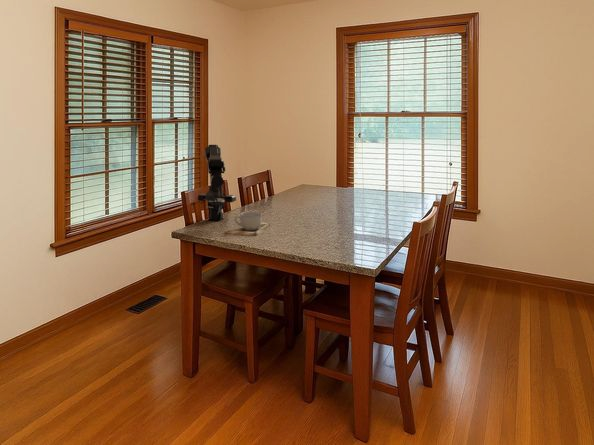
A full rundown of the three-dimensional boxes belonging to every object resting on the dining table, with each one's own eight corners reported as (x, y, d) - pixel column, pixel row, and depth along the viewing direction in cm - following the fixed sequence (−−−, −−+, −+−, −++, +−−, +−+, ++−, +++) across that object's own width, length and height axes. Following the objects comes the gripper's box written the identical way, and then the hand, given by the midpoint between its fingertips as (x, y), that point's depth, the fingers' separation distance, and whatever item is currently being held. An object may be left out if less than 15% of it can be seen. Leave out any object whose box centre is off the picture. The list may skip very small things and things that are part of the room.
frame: (225, 233, 220) (224, 230, 220) (240, 223, 240) (240, 221, 239) (256, 235, 217) (256, 233, 216) (269, 225, 236) (269, 223, 235)
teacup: (259, 226, 235) (259, 210, 234) (264, 231, 225) (263, 215, 223) (232, 227, 232) (232, 212, 230) (235, 232, 222) (235, 216, 220)
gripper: (191, 185, 222) (193, 216, 225) (227, 187, 217) (228, 219, 221) (201, 182, 232) (203, 212, 236) (236, 184, 228) (236, 214, 231)
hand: (217, 214), depth 231 cm, fingers closed
